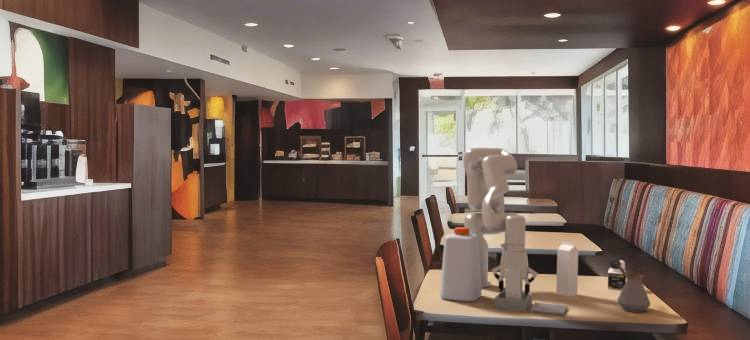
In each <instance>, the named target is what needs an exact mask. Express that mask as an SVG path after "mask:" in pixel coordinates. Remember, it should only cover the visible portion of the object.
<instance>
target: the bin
mask: <svg viewBox="0 0 750 340" xmlns="http://www.w3.org/2000/svg"><path fill="white" fill-rule="evenodd" d="M505 297H506V296H505V290H503V291H502V292H500V291H499V293H498V294H496V296H494V309H499V310H506V311H507V310H508V311H513V312H515V311H516V312H523V313H524V312H525V313H526V312H527V311H528V310H529V309H530V308H531V307H532V306H533V293H530V292H528V294H527V295H525V292H522V300H517V299H508V298H505Z"/></svg>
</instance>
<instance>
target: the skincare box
mask: <svg viewBox="0 0 750 340" xmlns="http://www.w3.org/2000/svg"><path fill="white" fill-rule="evenodd" d="M504 278H505V280H504V281H505V282H504V285H505V290H504V291H505V296H506V297H505V298H508V299H517V300H522V293H523V279H521V270H520V269H506V270H505V277H504Z"/></svg>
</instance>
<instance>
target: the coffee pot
mask: <svg viewBox="0 0 750 340" xmlns="http://www.w3.org/2000/svg"><path fill="white" fill-rule="evenodd" d="M615 264H617V265H618V266H615V267H619V269H620V271H621V272H622V273H623V274H624V276H625V277H626V283H625V285H624V287H623V289H622V290H620V291H621V292H619V293H620V294H619V295H618V297H617V304H618V305H619V306H620V307H621V308H622V310H625V311H628V312H635V313H641V312H646V310H647V309H648V308H650V306H651V301H650V298H649V297H648V294H647V292H646V289H645V287H644V285H643V284H644V283H643V282H642V281H643V279H644V277H645V276H644V275H643V274H636V273H627V272H626V273H625V271H626V270H624V269H623V268H622V267H621V265H620V264H619V263H618V262H616V263H615ZM615 264H614V265H615Z"/></svg>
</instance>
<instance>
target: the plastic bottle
mask: <svg viewBox="0 0 750 340" xmlns="http://www.w3.org/2000/svg"><path fill="white" fill-rule="evenodd" d="M443 243H444V244H443V255H442V266H441V277H440V279H441V280H440V291H439V296H440V298H441V299H443V300H447V301H455V302H466V303H472V302H476V301H477V300H478V299H479V298H480V297H481V296H482V288H481V275H480V256H479V238H478V236H477V235H475V234H469V228H466V227H465V226H457V227H455V228H454V232H452V233H449V234H447V235H446V236H445V237H444V242H443Z"/></svg>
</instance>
